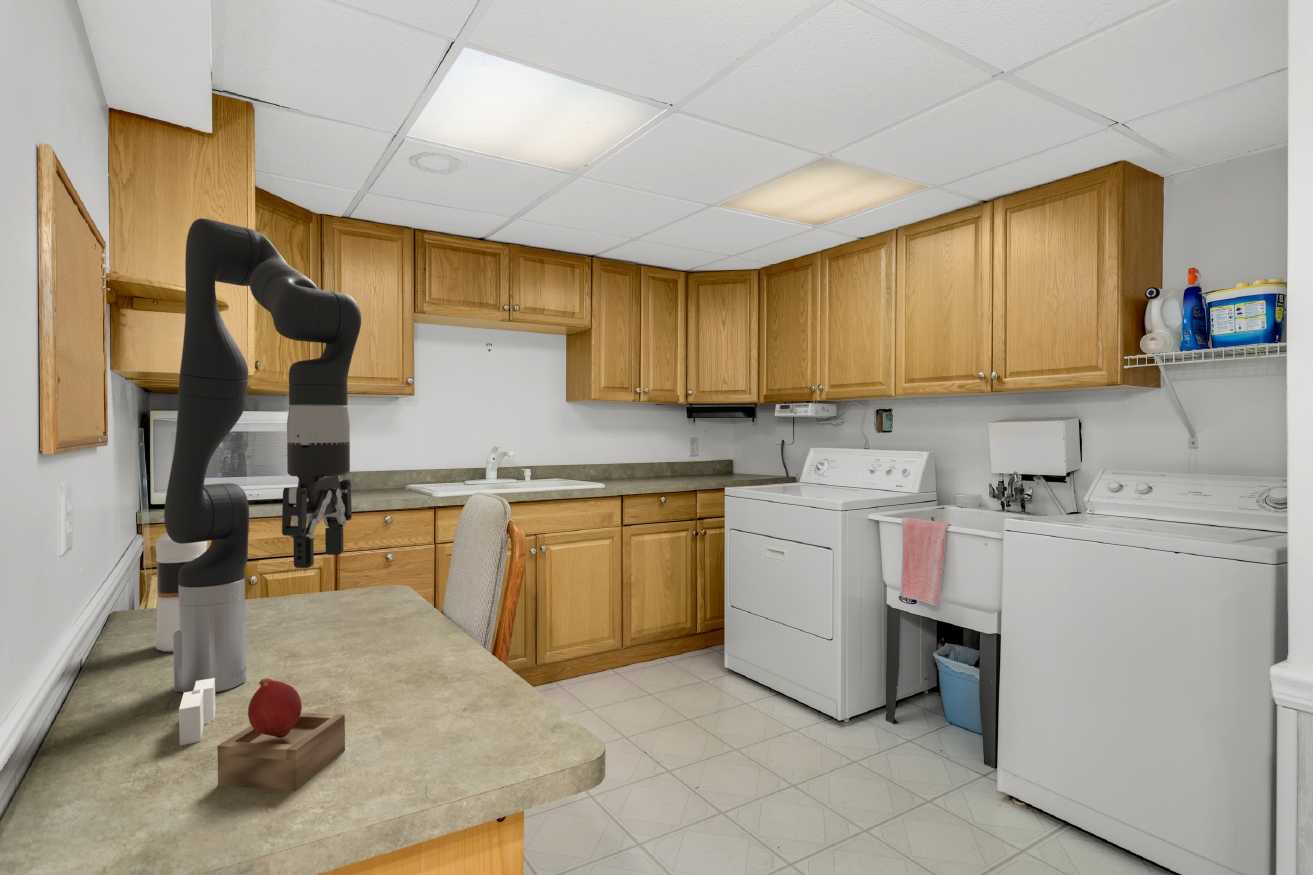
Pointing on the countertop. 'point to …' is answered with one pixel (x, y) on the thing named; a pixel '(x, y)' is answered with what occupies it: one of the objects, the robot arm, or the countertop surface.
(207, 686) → the white notched block
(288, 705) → the onion
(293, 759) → the wooden box
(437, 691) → the countertop surface
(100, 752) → the countertop surface
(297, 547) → the robot arm
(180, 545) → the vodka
